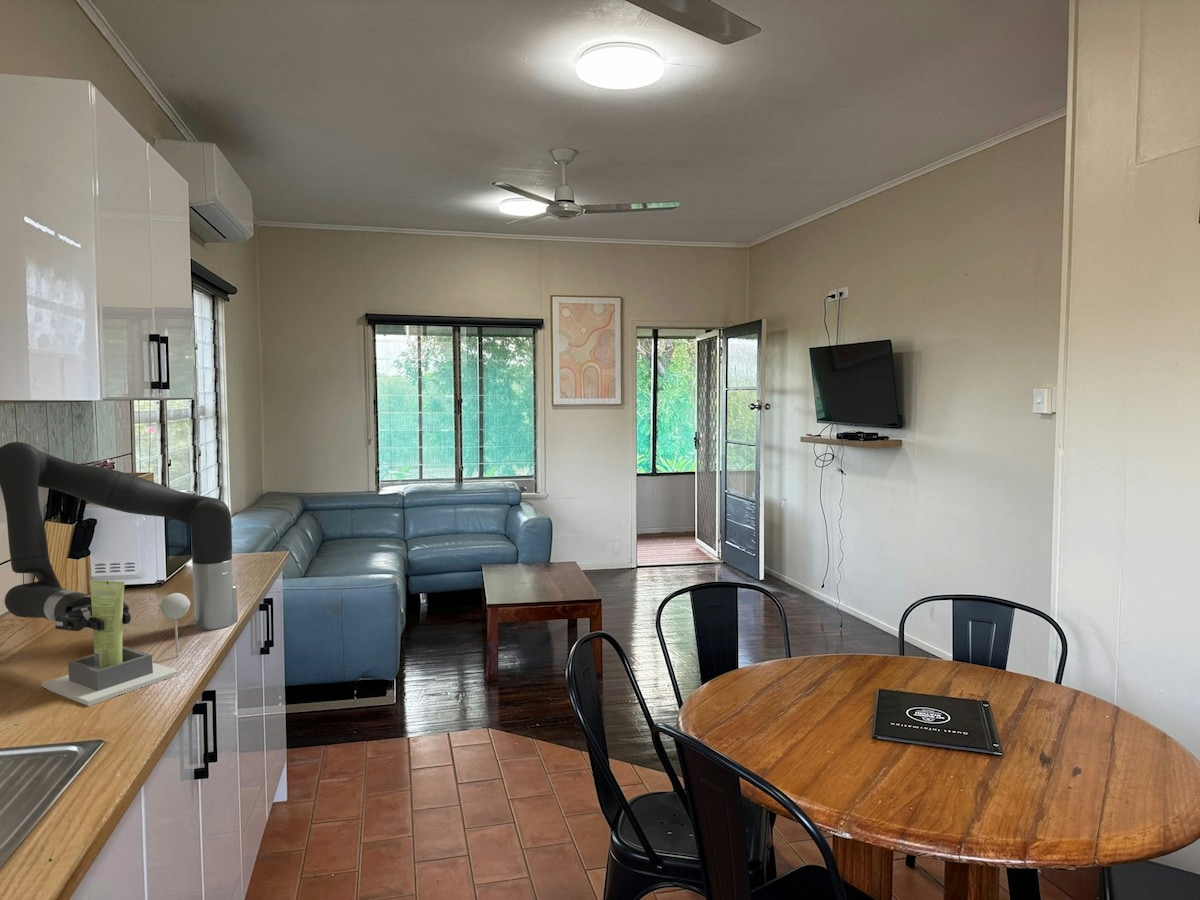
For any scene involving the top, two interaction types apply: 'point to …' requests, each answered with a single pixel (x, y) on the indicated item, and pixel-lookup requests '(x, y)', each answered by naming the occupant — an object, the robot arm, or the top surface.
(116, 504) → the robot arm
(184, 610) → the lollipop
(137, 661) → the socket
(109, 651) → the tube
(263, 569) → the top surface
